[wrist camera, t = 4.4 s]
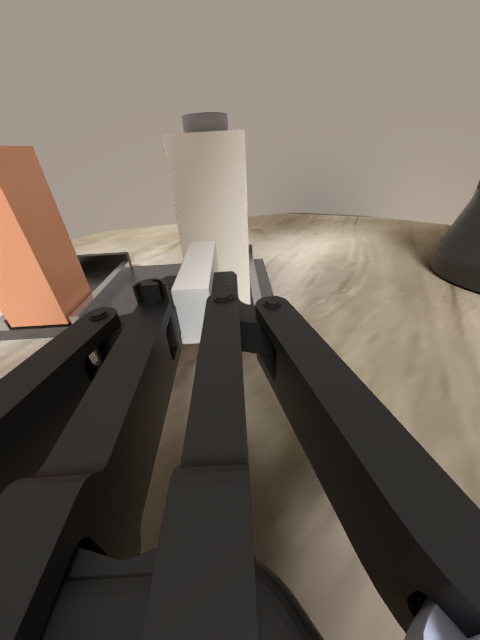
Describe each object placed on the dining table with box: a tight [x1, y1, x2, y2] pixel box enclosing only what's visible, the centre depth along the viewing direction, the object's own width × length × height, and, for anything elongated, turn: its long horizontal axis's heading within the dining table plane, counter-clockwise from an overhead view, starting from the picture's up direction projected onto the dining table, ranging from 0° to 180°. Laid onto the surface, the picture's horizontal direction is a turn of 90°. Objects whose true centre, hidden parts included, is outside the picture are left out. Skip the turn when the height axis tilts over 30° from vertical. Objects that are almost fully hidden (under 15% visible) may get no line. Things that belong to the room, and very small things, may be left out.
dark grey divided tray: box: [0, 245, 273, 340], centre depth 28 cm, size 26×14×3 cm, turn 92°
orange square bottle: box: [0, 146, 92, 327], centre depth 21 cm, size 5×5×14 cm
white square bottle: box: [162, 112, 250, 305], centre depth 21 cm, size 5×5×14 cm
